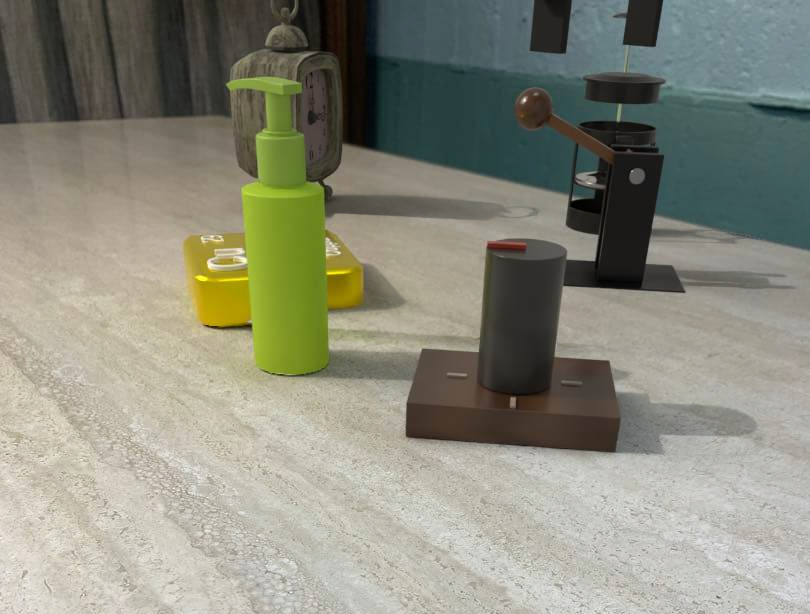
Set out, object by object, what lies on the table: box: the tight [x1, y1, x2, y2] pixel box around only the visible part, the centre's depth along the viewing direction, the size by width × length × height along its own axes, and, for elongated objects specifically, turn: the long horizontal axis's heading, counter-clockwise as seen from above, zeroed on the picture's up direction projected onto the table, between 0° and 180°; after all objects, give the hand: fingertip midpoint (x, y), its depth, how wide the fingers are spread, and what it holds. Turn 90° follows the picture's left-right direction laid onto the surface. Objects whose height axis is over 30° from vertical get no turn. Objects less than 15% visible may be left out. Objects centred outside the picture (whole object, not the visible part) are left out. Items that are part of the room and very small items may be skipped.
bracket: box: [563, 144, 686, 294], centre depth 84 cm, size 12×9×13 cm
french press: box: [565, 12, 667, 236], centre depth 98 cm, size 12×9×23 cm
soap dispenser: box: [225, 77, 330, 375], centre depth 64 cm, size 6×7×20 cm
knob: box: [477, 237, 568, 394], centre depth 58 cm, size 5×5×9 cm
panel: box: [405, 347, 622, 453], centre depth 61 cm, size 14×10×3 cm
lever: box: [513, 86, 633, 165], centre depth 81 cm, size 14×4×4 cm, turn 83°
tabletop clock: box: [229, 0, 344, 199], centre depth 108 cm, size 14×9×25 cm, turn 161°
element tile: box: [182, 228, 364, 328], centre depth 81 cm, size 15×15×5 cm
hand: (596, 49), depth 68 cm, fingers open, 13 cm apart
